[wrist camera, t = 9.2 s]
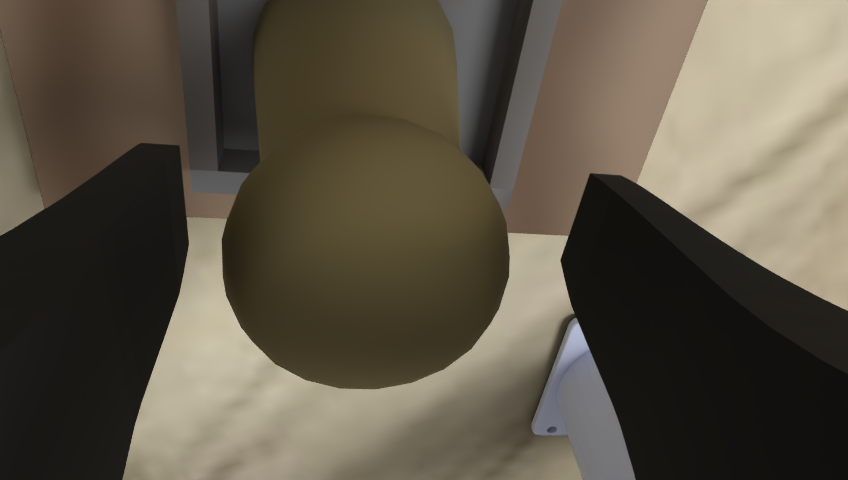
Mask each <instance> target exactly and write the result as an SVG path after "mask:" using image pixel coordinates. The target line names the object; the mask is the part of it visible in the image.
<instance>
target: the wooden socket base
mask: <svg viewBox="0 0 848 480" xmlns="http://www.w3.org/2000/svg"><path fill="white" fill-rule="evenodd" d="M267 1H268V0H0V31H1V35H2V39H3V43H4V47H5V51H6V55H7V59H8V63H9V67H10V71H11V75H12V79H13V83H14V87H15V91H16V95H17V99H18V103H19V107H20V111H21V115H22V119H23V123H24V127H25V131H26V135H27V139H28V143H29V147H30V151H31V155H32V159H33V163H34V167H35V171H36V175H37V179H38V183H39V187H40V191H41V196H42V200H43V204H44V208H45V209H46V208H47V207H49V206H50V205H52V204H54V203H55V202H57V201H58V200H60V199H61V198H63V197H64V196H66V195H67V194H69V193H70V192H72V191H73V190H74V189H76V188H77V187H79V186H80V185H82V184H83V183H84V182H86V181H87V180H89V179H90V178H92V177H93V176H94V175H96V174H97V173H99V172H100V171H101V170H103V169H104V168H105V167H107V166H108V165H110V164H111V163H112V162H114V161H115V160H116V159H118V158H119V157H121V156H122V155H123V154H125V153H126V152H127V151H129V150H130V149H132V148H133V147H135V146H136V145H138V144H140V143H152V144H167V145H180V155H181V166H182V176H183V187H184V198H185V208H186V217H205V218H225V219H227V218H228V216H229V213H230V211H231V208H232V206H233V203H234V201H235V198H236V196H237V193H238V191H239V189H240V186H241V184H242V183H243V181H244V180H245V179H246V178H247V176H248V175H249V174H250V173H251V172H252V170H253V169H254V168H255V167H256V166H257V165H258V164H259V163H260V155H259V142H258V129H257V117H256V104H255V91H254V79H253V34H254V31H255V28H256V26H257V23H258V20H259V17H260V15H261V12H262V9H263V6H264V5H265V3H266V2H267ZM707 1H708V0H439V2H440V4H441V7H442V9H443V11H444V13H445V15H446V17H447V19H448V21H449V23H450V25H451V27H452V29H453V37H454V45H455V53H456V62H457V82H458V101H459V121H460V140H461V152H462V153H463V154H464V155H465V156H467V157H468V158H469V159H470V160H471V161H472V162H473V163H474V164H475V165H476V166H477V167H478V168H479V169H480V170H481V171H482V172H483V174H484V176H485V178H486V180H487V182H488V184H489V185H490V187H491V189H492V191H493V193H494V195H495V197H496V199H497V201H498V202H499V204H500V207H501V210H502V212H503V215H504V217H505V220H506V223H507V233H526V234H546V235H567V236H569V234H570V231H571V228H572V225H573V222H574V219H575V216H576V213H577V210H578V207H579V204H580V201H581V198H582V195H583V192H584V189H585V186H586V183H587V180H588V177H589V174H590V173H595V174H610V175H622V176H624V177H625V178H627V179H629V180H631V181H633V182H635V183H637V180H638V178H639V175H640V173H641V170H642V167H643V165H644V162H645V160H646V157H647V155H648V152H649V150H650V147H651V144H652V142H653V139H654V137H655V134H656V132H657V129H658V127H659V124H660V121H661V119H662V116H663V114H664V111H665V109H666V106H667V103H668V101H669V98H670V96H671V93H672V91H673V88H674V86H675V83H676V80H677V78H678V75H679V73H680V70H681V68H682V65H683V63H684V60H685V57H686V55H687V52H688V50H689V47H690V45H691V42H692V40H693V37H694V34H695V32H696V29H697V27H698V24H699V22H700V19H701V16H702V14H703V11H704V9H705V6H706V4H707Z"/></svg>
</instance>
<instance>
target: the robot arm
mask: <svg viewBox="0 0 848 480" xmlns="http://www.w3.org/2000/svg"><path fill="white" fill-rule="evenodd" d="M188 246H189V240H188V230H187V219H186V208H185V198H184V187H183V176H182V166H181V155H180V145H167V144H152V143H140V144H138V145H136V146H135V147H133V148H132V149H130V150H129V151H127V152H126V153H125V154H123V155H122V156H121V157H119V158H118V159H116V160H115V161H114V162H112V163H111V164H110V165H108V166H107V167H105V168H104V169H103V170H101V171H100V172H99V173H97V174H96V175H94V176H93V177H92V178H90V179H89V180H87V181H86V182H84V183H83V184H82V185H80V186H79V187H77V188H76V189H74V190H73V191H72V192H70V193H69V194H67V195H66V196H64V197H63V198H61V199H60V200H58V201H57V202H55V203H54V204H52V205H50V206H49V207H47V208H46V209H44V210H42V211H41V212H39V213H38V214H36V215H34V216H33V217H31V218H30V219H28V220H26V221H25V222H23V223H22V224H20V225H18V226H17V227H15V228H14V229H12V230H10V231H8V232H7V233H5V234H3V235H1V236H0V480H122V479H123V474H124V470H125V466H126V461H127V457H128V452H129V448H130V444H131V439H132V435H133V430H134V426H135V423H136V419H137V416H138V413H139V409H140V406H141V402H142V399H143V397H144V394H145V391H146V388H147V385H148V382H149V379H150V377H151V374H152V371H153V368H154V365H155V362H156V359H157V357H158V354H159V351H160V348H161V345H162V342H163V340H164V337H165V334H166V331H167V328H168V325H169V322H170V319H171V317H172V314H173V311H174V308H175V305H176V302H177V299H178V296H179V293H180V288H181V283H182V278H183V273H184V268H185V262H186V257H187V252H188ZM561 264H562V269H563V273H564V278H565V282H566V286H567V290H568V294H569V298H570V302H571V305H572V308H573V310H574V313H575V316H576V318H574V319H573V320H572V321H571V322H570V323H569V325H568V328H567V331H566V333H565V336H564V339H563V341H562V344H561V347H560V349H559V352H558V355H557V357H556V360H555V363H554V365H553V368H552V371H551V373H550V376H549V379H548V381H547V384H546V387H545V389H544V392H543V395H542V397H541V400H540V403H539V405H538V408H537V411H536V413H535V416H534V419H533V421H532V424H531V427H532V431H533V433H534V434H536V435H568V437H569V440H570V443H571V446H572V449H573V452H574V455H575V458H576V461H577V464H578V467H579V470H580V473H581V476H582V479H583V480H848V311H847V310H845V309H842V308H840V307H838V306H836V305H834V304H832V303H830V302H828V301H826V300H824V299H822V298H820V297H818V296H816V295H814V294H812V293H810V292H808V291H806V290H804V289H803V288H801V287H799V286H797V285H795V284H793V283H791V282H789V281H787V280H785V279H783V278H782V277H780V276H778V275H776V274H775V273H773V272H771V271H769V270H768V269H766V268H764V267H762V266H761V265H759V264H758V263H756V262H754V261H753V260H751V259H749V258H748V257H746V256H745V255H743V254H741V253H740V252H738V251H736V250H735V249H733V248H732V247H730V246H729V245H727V244H726V243H724V242H722V241H721V240H719V239H718V238H716V237H715V236H713V235H712V234H710V233H709V232H707V231H706V230H704V229H703V228H701V227H700V226H698V225H697V224H696V223H694V222H693V221H691V220H690V219H688V218H687V217H685V216H684V215H682V214H681V213H680V212H678V211H677V210H675V209H674V208H672V207H671V206H669V205H668V204H667V203H665V202H664V201H662V200H661V199H659V198H658V197H656V196H655V195H653V194H652V193H650V192H649V191H647V190H646V189H644V188H643V187H641V186H639V185H638V184H636V183H635V182H633V181H631V180H629V179H627V178H625V177H624V176H622V175H610V174H595V173H590V174H589V177H588V180H587V183H586V186H585V189H584V192H583V195H582V198H581V201H580V204H579V207H578V210H577V213H576V216H575V219H574V222H573V225H572V228H571V231H570V234H569V237H568V240H567V243H566V246H565V249H564V251H563V254H562V257H561Z"/></svg>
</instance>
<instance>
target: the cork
mask: <svg viewBox="0 0 848 480" xmlns="http://www.w3.org/2000/svg"><path fill="white" fill-rule="evenodd" d="M253 79H254V91H255V104H256V117H257V129H258V142H259V155H260V163H259V164H258V165H257V166H256V167H255V168H254V169H253V170H252V172H251V173H250V174H249V175H248V176H247V178H246V179H245V180H244V181H243V183H242V184H241V186H240V189H239V191H238V193H237V196H236V198H235V201H234V203H233V206H232V208H231V211H230V213H229V216H228V218H227V221H226V225H225V229H224V233H223V237H222V263H223V279H224V285H225V291H226V296H227V298H228V300H229V303H230V305H231V307H232V309H233V311H234V313H235V315H236V318H237V320H238V322H239V324H240V326H241V328H242V329H243V330H244V331H245V333H246V334H247V335H248V336H249V338H250V339H251V340H252V341H253V342H254V343H255V344H256V345H257V346H258V347H259V348H260V349H261V350H262V351H263V352H264V353H265V354H266V355H267V356H268V357H269V358H270V359H271V360H272V361H273V362H274V363H275V364H276V365H278V366H280V367H282V368H284V369H286V370H288V371H290V372H291V373H293V374H295V375H297V376H299V377H301V378H303V379H305V380H308V381H312V382H316V383H320V384H324V385H328V386H333V387H337V388H346V389H380V388H386V387H391V386H396V385H402V384H407V383H412V382H415V381H417V380H419V379H422V378H424V377H426V376H429V375H431V374H433V373H436V372H438V371H441V370H443V369H445V368H446V367H448V366H449V365H450V364H452V363H453V362H454V361H456V360H457V359H458V358H460V357H461V356H462V355H464V354H465V353H466V352H468V351H469V350H470V349H471V348H472V347H473V346H474V345H475V343H476V342H477V341H478V339H479V338H480V337H481V335H482V334H483V333H484V331H485V330H486V329H487V327H488V326H489V325H490V323H491V321H492V320H493V318H494V316H495V314H496V313H497V311H498V309H499V307H500V304H501V300H502V297H503V294H504V291H505V287H506V284H507V281H508V278H509V260H510V256H509V245H508V234H507V223H506V220H505V217H504V215H503V212H502V210H501V207H500V204H499V202H498V201H497V199H496V197H495V195H494V193H493V191H492V189H491V187H490V185H489V184H488V182H487V180H486V178H485V176H484V174H483V172H482V171H481V170H480V169H479V168H478V167H477V166H476V165H475V164H474V163H473V162H472V161H471V160H470V159H469V158H468V157H467V156H465V155H464V154H463V153H462V152H461V140H460V121H459V101H458V82H457V62H456V53H455V45H454V37H453V29H452V27H451V25H450V23H449V21H448V19H447V17H446V15H445V13H444V11H443V9H442V7H441V4H440V2H439V0H268V1H267V2H266V3H265V5H264V6H263V9H262V12H261V15H260V17H259V20H258V23H257V26H256V28H255V31H254V34H253Z"/></svg>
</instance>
